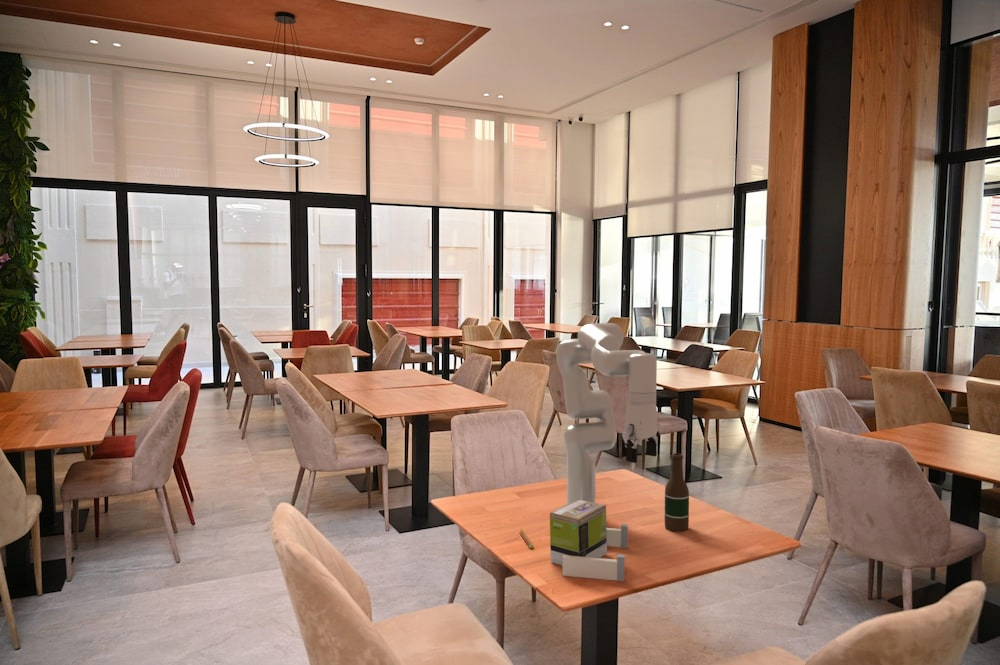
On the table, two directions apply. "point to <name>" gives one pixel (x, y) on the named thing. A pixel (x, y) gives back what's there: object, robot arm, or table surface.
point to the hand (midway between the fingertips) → (641, 458)
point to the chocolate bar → (526, 539)
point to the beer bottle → (676, 498)
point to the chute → (600, 560)
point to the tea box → (578, 531)
